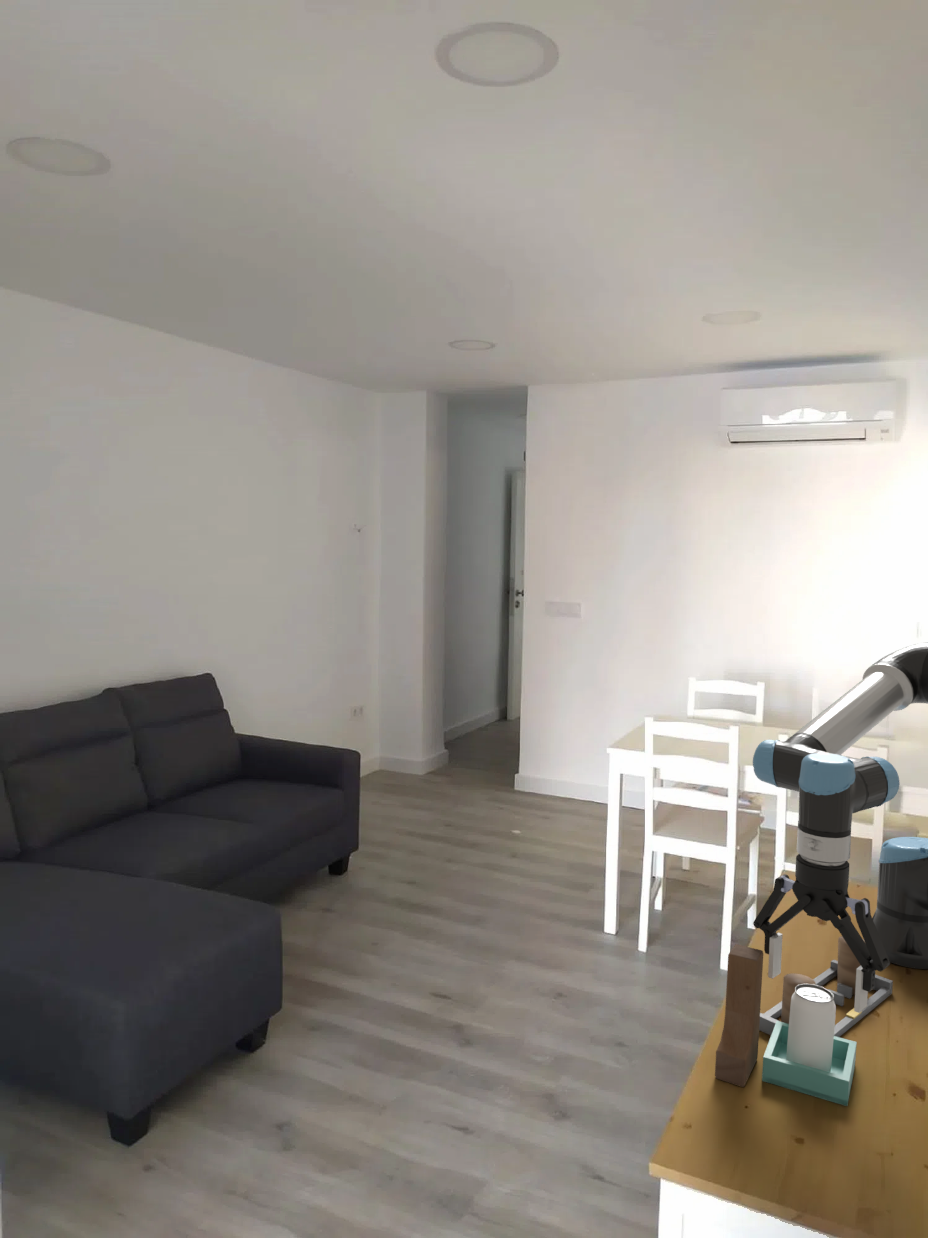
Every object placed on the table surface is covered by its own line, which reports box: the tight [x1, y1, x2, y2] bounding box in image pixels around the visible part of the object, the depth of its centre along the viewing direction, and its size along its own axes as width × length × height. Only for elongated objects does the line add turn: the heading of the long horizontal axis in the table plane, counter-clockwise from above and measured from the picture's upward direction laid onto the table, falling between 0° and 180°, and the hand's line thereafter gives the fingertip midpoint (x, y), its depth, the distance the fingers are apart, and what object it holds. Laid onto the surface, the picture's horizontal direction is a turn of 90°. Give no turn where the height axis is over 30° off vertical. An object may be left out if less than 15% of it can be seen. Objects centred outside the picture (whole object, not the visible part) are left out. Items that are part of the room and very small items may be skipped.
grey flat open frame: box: [759, 959, 894, 1038], centre depth 157 cm, size 30×11×2 cm, turn 133°
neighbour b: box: [780, 973, 816, 1024], centre depth 149 cm, size 5×5×9 cm
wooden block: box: [714, 944, 764, 1088], centre depth 138 cm, size 9×4×18 cm, turn 149°
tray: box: [761, 1020, 858, 1107], centre depth 138 cm, size 12×12×4 cm
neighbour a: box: [836, 935, 866, 996], centre depth 164 cm, size 5×5×9 cm
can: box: [786, 984, 837, 1072], centre depth 137 cm, size 6×6×12 cm
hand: (815, 991), depth 137 cm, fingers open, 13 cm apart
